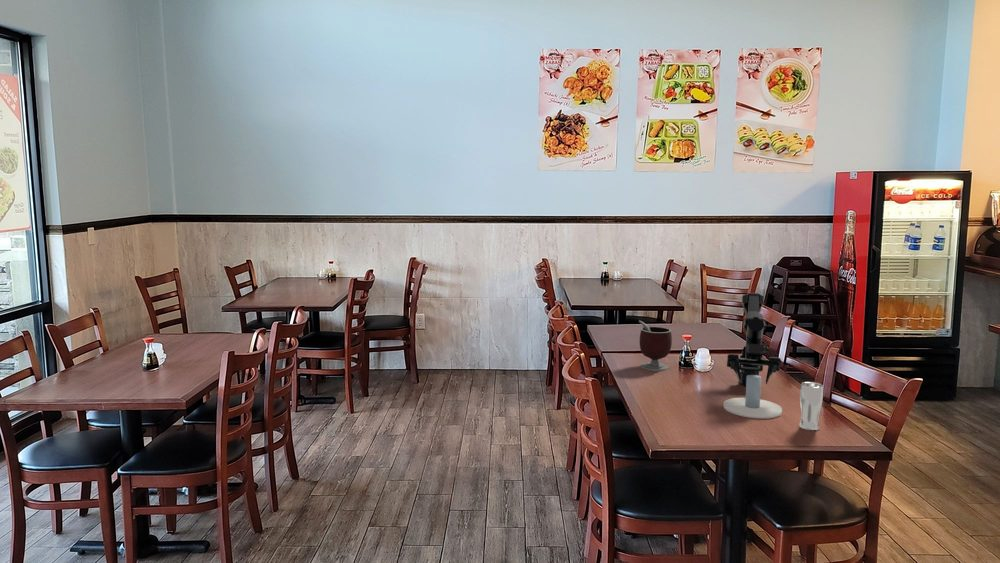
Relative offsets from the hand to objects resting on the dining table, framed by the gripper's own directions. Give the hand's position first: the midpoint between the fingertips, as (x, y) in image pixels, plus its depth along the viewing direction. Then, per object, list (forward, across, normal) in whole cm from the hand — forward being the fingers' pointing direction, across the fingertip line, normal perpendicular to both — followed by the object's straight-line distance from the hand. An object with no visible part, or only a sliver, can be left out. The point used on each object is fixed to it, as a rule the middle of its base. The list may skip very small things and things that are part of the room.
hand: (753, 382), depth 256 cm
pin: (+8, 0, +2) cm, 9 cm away
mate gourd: (-24, -40, +38) cm, 60 cm away
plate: (+9, 0, +3) cm, 10 cm away
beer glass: (+19, +18, -6) cm, 27 cm away
